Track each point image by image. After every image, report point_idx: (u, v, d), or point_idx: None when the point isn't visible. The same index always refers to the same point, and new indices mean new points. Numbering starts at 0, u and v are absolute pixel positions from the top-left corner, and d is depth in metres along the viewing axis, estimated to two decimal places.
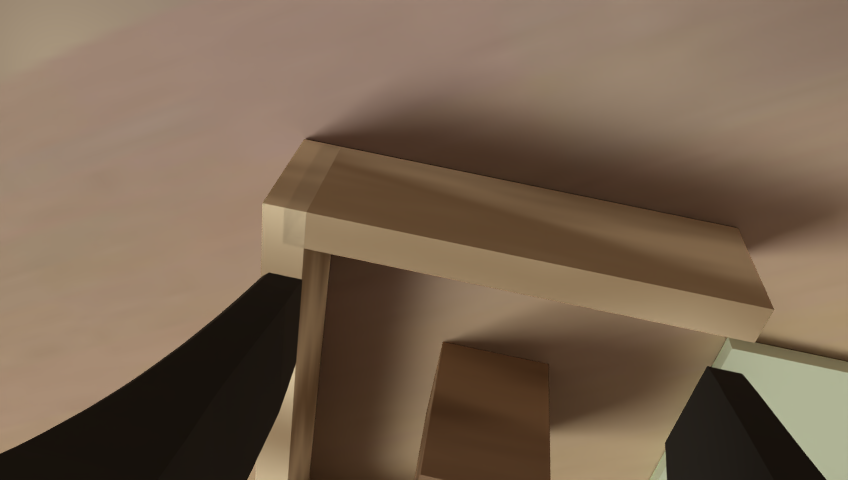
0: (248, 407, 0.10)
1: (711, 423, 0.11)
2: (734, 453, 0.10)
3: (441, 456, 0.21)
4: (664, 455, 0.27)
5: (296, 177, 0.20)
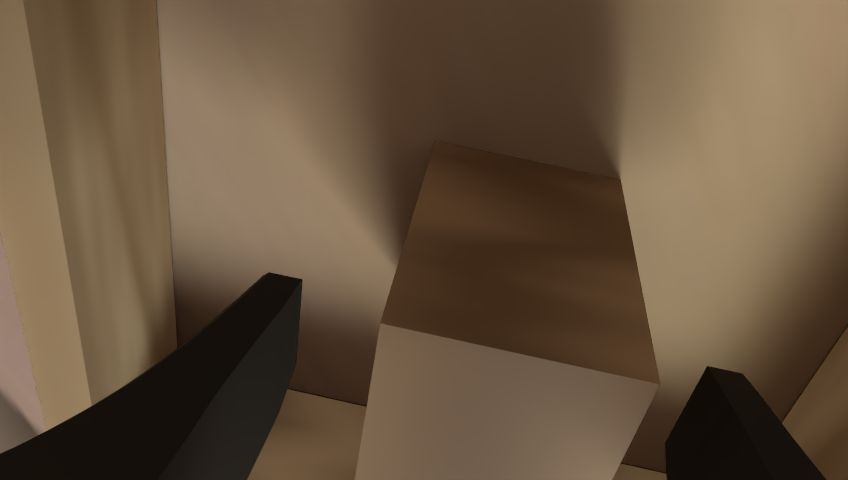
0: (248, 407, 0.10)
1: (711, 423, 0.11)
2: (734, 453, 0.10)
3: None
4: None
5: None
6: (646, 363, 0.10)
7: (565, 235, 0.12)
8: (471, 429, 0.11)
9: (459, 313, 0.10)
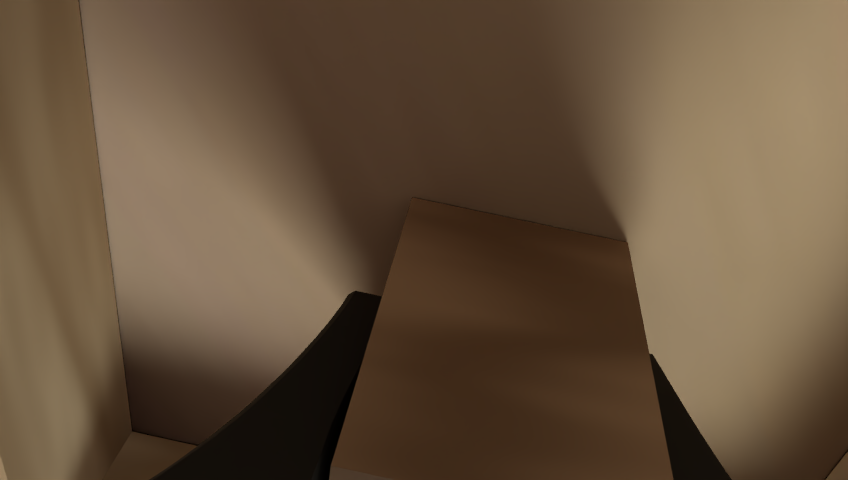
0: None
1: None
2: None
3: None
4: None
5: None
6: None
7: (563, 323, 0.10)
8: None
9: (432, 445, 0.08)
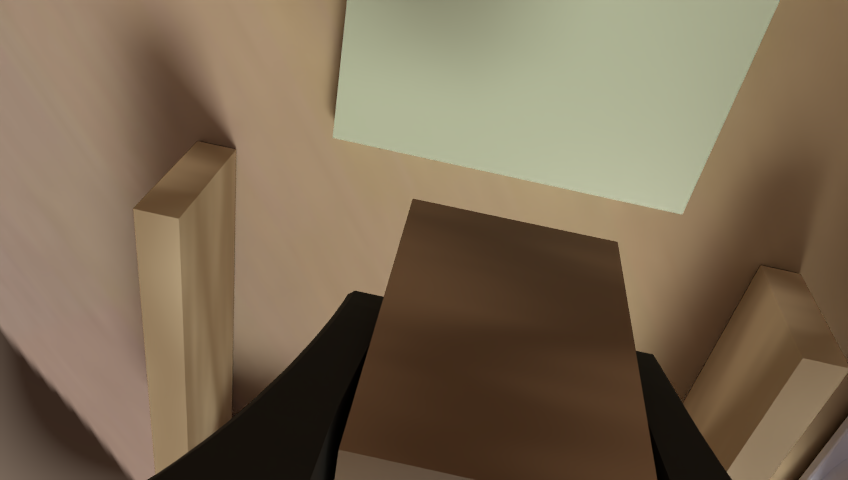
0: None
1: None
2: None
3: None
4: None
5: None
6: None
7: (556, 318, 0.11)
8: None
9: (431, 431, 0.09)
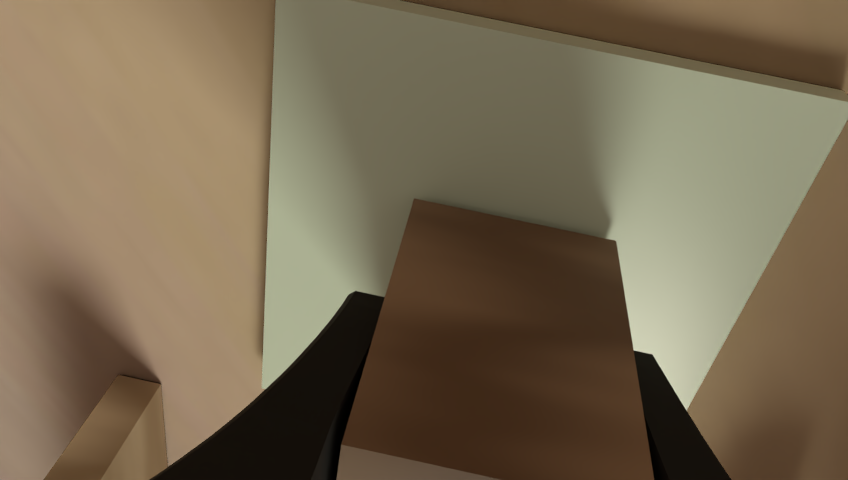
0: None
1: None
2: None
3: None
4: None
5: None
6: None
7: (554, 315, 0.11)
8: None
9: (432, 426, 0.09)
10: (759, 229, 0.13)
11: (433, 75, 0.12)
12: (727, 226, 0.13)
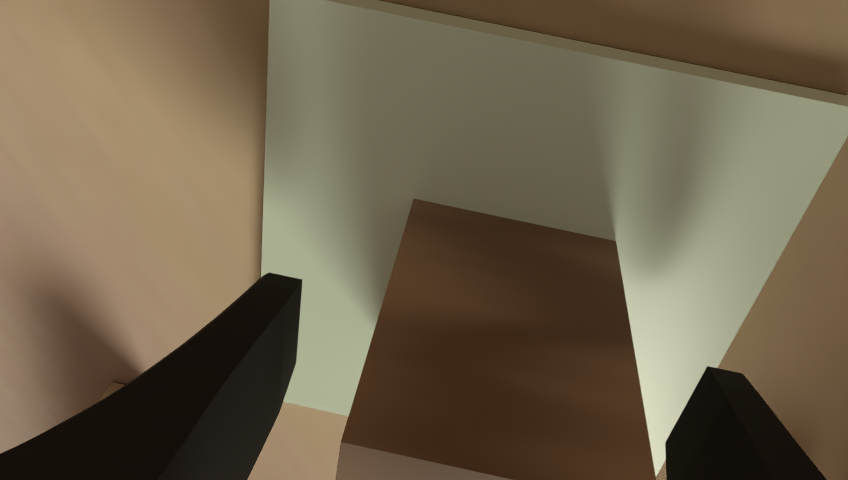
0: (248, 407, 0.10)
1: (711, 423, 0.11)
2: (734, 453, 0.10)
3: None
4: None
5: None
6: None
7: (554, 315, 0.11)
8: None
9: (432, 423, 0.09)
10: (763, 237, 0.13)
11: (430, 80, 0.12)
12: (730, 234, 0.13)
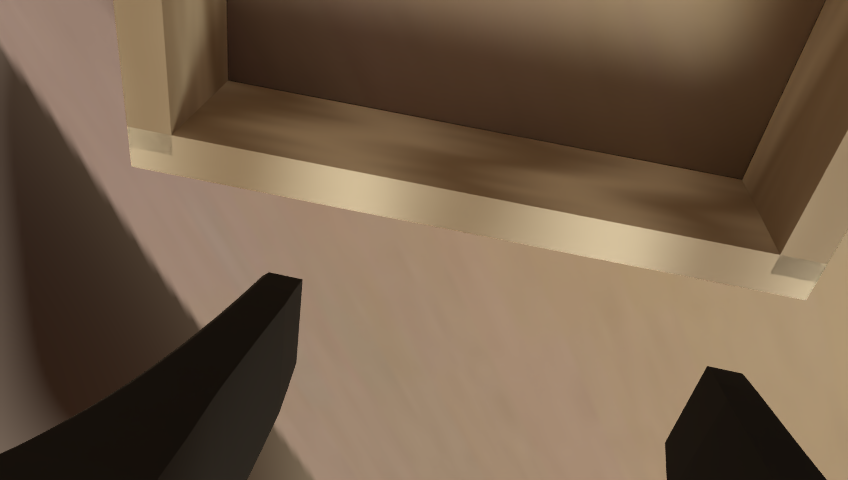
0: (248, 407, 0.10)
1: (711, 423, 0.11)
2: (734, 453, 0.10)
3: None
4: None
5: None
6: None
7: None
8: None
9: None
10: None
11: None
12: None
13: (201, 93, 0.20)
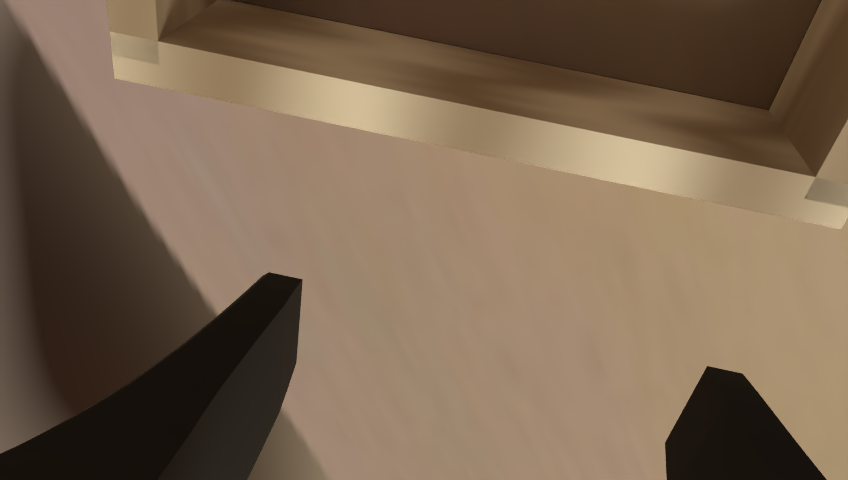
0: (248, 407, 0.10)
1: (711, 423, 0.11)
2: (734, 453, 0.10)
3: None
4: None
5: None
6: None
7: None
8: None
9: None
10: None
11: None
12: None
13: (191, 4, 0.18)
